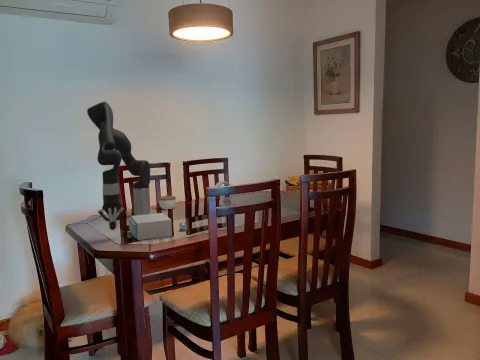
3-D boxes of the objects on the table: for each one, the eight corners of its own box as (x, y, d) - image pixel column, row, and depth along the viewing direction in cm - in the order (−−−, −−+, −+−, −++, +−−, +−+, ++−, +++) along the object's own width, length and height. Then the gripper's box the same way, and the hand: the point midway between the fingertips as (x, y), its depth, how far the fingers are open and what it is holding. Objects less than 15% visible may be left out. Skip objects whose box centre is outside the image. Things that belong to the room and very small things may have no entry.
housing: (131, 231, 203) (131, 215, 202) (163, 228, 209) (162, 212, 208) (137, 240, 186) (137, 223, 185) (171, 236, 193) (171, 219, 192)
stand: (178, 229, 205) (178, 223, 204) (185, 229, 206) (185, 222, 206) (180, 231, 202) (180, 224, 201) (187, 230, 203) (187, 223, 202)
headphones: (219, 218, 231) (219, 183, 228) (207, 216, 236) (206, 182, 234) (238, 212, 246) (238, 180, 244) (226, 211, 251) (226, 179, 249)
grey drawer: (129, 229, 202) (128, 217, 201) (160, 226, 208) (159, 214, 207) (134, 237, 186) (134, 224, 185) (168, 233, 192) (167, 221, 191)
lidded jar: (157, 208, 262) (156, 194, 261) (172, 206, 267) (172, 192, 266) (162, 211, 253) (161, 196, 252) (178, 209, 258) (178, 195, 257)
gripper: (96, 195, 182) (98, 232, 184) (127, 193, 187) (128, 229, 189) (95, 192, 188) (97, 229, 190) (124, 190, 194) (126, 226, 196)
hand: (113, 229), depth 190 cm, fingers closed
